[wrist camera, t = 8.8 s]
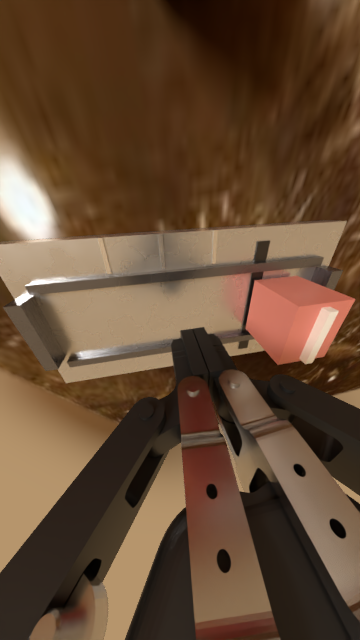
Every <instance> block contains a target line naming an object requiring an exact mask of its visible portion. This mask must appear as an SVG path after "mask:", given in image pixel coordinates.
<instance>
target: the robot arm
mask: <svg viewBox="0 0 360 640" xmlns="http://www.w3.org/2000/svg"><path fill="white" fill-rule="evenodd" d="M180 337H181V339H174V340H173V342H172V344H171V351H172V359H173V366H174V372H175V378H176V387H175V389H174V390H173V391H172V393H170V394H169V395H168V396H166V397H164V398H162V399H160V400H158V399H156V398H153V397H147V398H143V399H141V400H139V401H138V402H137V403H136V404H135V405H134V406H133V407H132V408H131V410H130V411H129V412H128V413H127V415H126V416H125V417H124V418H123V420H122V421H121V422H120V423H119V425H118V426H117V427H116V429H115V430H114V431H113V432H112V434H111V435H110V436H109V437H108V439H107V440H106V441H105V443H104V444H103V445H102V446H101V447H100V449H99V450H98V451H97V452H96V454H95V455H94V456H93V458H92V459H91V460H90V461H89V462H88V464H87V465H86V466H85V467H84V469H83V470H82V471H81V472H80V474H79V475H78V476H77V477H76V479H75V480H74V481H73V482H72V484H71V485H70V486H69V487H68V489H67V490H66V491H65V493H64V494H63V495H62V496H61V498H60V499H59V500H58V501H57V503H56V504H55V505H54V506H53V508H52V509H51V510H50V511H49V513H48V514H47V515H46V516H45V518H44V519H43V520H42V521H41V523H40V524H39V525H38V526H37V528H36V529H35V530H34V531H33V533H32V534H31V535H30V537H29V538H28V539H27V540H26V542H25V543H24V544H23V545H22V546H21V548H20V549H19V551H18V552H17V553H16V554H15V555H14V557H13V558H12V559H11V560H10V562H9V563H8V564H7V565H6V567H5V568H4V569H3V570H2V572H1V573H0V640H103V639H104V636H105V632H106V626H107V620H108V619H107V618H108V597H107V592H106V589H105V587H104V585H103V583H102V582H103V580H104V578H105V576H106V574H107V572H108V570H109V568H110V566H111V564H112V562H113V560H114V558H115V556H116V554H117V553H118V551H119V549H120V547H121V545H122V543H123V541H124V539H125V537H126V535H127V533H128V531H129V529H130V527H131V525H132V523H133V521H134V519H135V517H136V515H137V513H138V511H139V509H140V507H141V505H142V503H143V501H144V499H145V497H146V496H147V494H148V492H149V490H150V488H151V486H152V484H153V482H154V480H155V478H156V476H157V474H158V472H159V470H160V468H161V466H162V464H163V462H164V460H165V458H166V456H167V454H168V452H169V450H170V449H172V448H173V447H174V446H176V445H177V444H179V443H181V446H182V460H183V473H184V486H185V500H186V507H185V508H184V509H183V510H182V511H181V512H180V513H179V514H178V515H177V516H176V518H175V519H174V520H173V521H172V523H171V524H170V526H169V527H168V529H167V531H166V533H165V535H164V537H163V539H162V541H161V543H160V546H159V548H158V551H157V553H156V556H155V559H154V562H153V564H152V567H151V570H150V572H149V575H148V578H147V581H146V583H145V586H144V589H143V592H142V594H141V597H140V600H139V602H138V605H137V608H136V611H135V613H134V616H133V619H132V621H131V624H130V627H129V630H128V632H127V635H126V638H125V640H360V504H359V503H358V502H356V501H355V500H354V499H352V498H351V497H349V496H348V495H346V494H345V493H344V492H343V490H342V489H341V488H340V486H339V485H338V484H337V483H336V481H335V480H334V479H333V477H334V478H335V479H336V480H338V481H339V482H341V483H342V484H344V485H345V486H347V487H348V488H350V489H351V490H352V491H354V492H355V493H357V494H358V495H360V409H359V408H356V407H354V406H352V405H350V404H348V403H346V402H344V401H342V400H339V399H337V398H335V397H333V396H331V395H329V394H327V393H325V392H322V391H320V390H318V389H316V388H314V387H312V386H310V385H308V384H305V383H303V382H301V381H299V380H297V379H295V378H293V377H290V376H287V375H282V374H279V375H275V376H273V377H272V378H271V379H270V381H261V380H253V379H250V378H248V377H247V376H246V375H245V374H244V373H242V372H241V371H238V370H237V368H236V366H235V365H234V363H233V361H232V359H231V358H230V356H229V354H228V352H227V351H226V349H225V347H224V345H223V344H222V342H221V340H220V338H218V337H217V336H216V335H214V334H207V332H206V330H205V328H204V327H200V328H193V329H186V330H180ZM212 402H214V403H215V406H216V415H215V411H214V407H213V403H212ZM216 416H217V419H218V421H219V423H220V426H221V428H222V431H223V433H224V436H225V438H226V440H227V442H228V445H229V448H230V450H231V452H232V455H233V457H234V460H235V464H236V470H237V474H238V477H239V480H240V483H241V485H242V488H243V490H244V492H239V489H238V485H237V481H236V477H235V474H234V470H233V467H232V463H231V459H230V455H229V452H228V448H227V444H226V441H225V439H224V437H223V435H222V434H221V433H220V431H219V427H218V423H217V419H216Z"/></svg>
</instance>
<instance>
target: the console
mask: <svg viewBox="0 0 360 640" xmlns="http://www.w3.org/2000/svg"><path fill="white" fill-rule="evenodd" d="M346 222H347V221H331V220H322V221H307V222H292V223H277V224H261V225H246V226H231V227H216V228H201V229H186V230H171V231H156V232H140V233H125V234H110V235H95V236H80V237H65V238H50V239H34V240H19V241H4V242H0V276H1V278H2V279H3V281H4V283H5V284H6V286H7V288H8V289H9V291H10V292H11V294H12V296H13V297H14V299H15V300H13V301H12V302H10V303H9V304H7V305H6V306H4V307H3V308H4V310H5V311H6V313H7V314H8V316H9V317H10V319H11V320H12V321H13V323H14V324H15V326H16V327H17V329H18V330H19V332H20V333H21V335H22V336H23V338H24V339H25V341H26V342H27V344H28V345H29V347H30V348H31V350H32V351H33V353H34V354H35V356H36V357H37V359H38V360H39V362H40V363H41V365H42V366H43V368H44V369H45V371H49V370H55V369H58V371H59V372H60V374H61V376H62V377H63V379H64V381H65V382H66V383H69V382H76V381H82V380H88V379H94V378H100V377H106V376H112V375H118V374H125V373H131V372H137V371H143V370H149V369H155V368H161V367H167V366H173V359H172V351H171V344H172V342H173V340H174V339H181V337H180V330H186V329H193V328H200V327H204V328H205V330H206V332H207V334H214V335H216V336H217V337H218V338H220V340H221V342H222V344H223V345H224V347H225V349H226V351H227V352H228V354H229V356H235V355H241V354H247V353H253V352H259V351H265V350H264V349H263V348H262V346H261V345H260V344H259V343H258V342H257V341H256V340H255V339H254V337H253V336H252V335H251V334H250V333H249V332H248V331H247V329H246V323H247V318H248V313H249V307H250V302H251V297H252V292H253V287H254V281H255V280H262V279H271V278H280V277H290V276H299V277H301V278H304V279H306V280H309V281H311V282H314V283H316V284H319V285H321V286H324V287H326V288H329V289H331V290H334V289H335V287H336V284H337V282H338V280H339V278H340V276H341V274H342V271H343V270H339V269H336V268H332V267H329V263H330V261H331V259H332V256H333V254H334V251H335V249H336V246H337V244H338V242H339V239H340V237H341V234H342V232H343V229H344V227H345V224H346Z"/></svg>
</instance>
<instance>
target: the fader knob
mask: <svg viewBox="0 0 360 640" xmlns="http://www.w3.org/2000/svg"><path fill="white" fill-rule="evenodd" d="M354 301H355V299H354V298H351V297H349V296H346V295H344V294H341V293H339V292H336V291H334V290H331V289H329V288H326V287H324V286H321V285H319V284H316V283H314V282H311V281H309V280H306V279H304V278H301V277H299V276H290V277H280V278H271V279H262V280H255V281H254V287H253V292H252V297H251V302H250V307H249V313H248V318H247V323H246V329H247V331H248V332H249V333H250V334H251V335H252V336H253V337H254V339H255V340H256V341H257V342H258V343H259V344H260V345H261V346H262V348H263V349H264V350H265V351H266V352H267V353H268V354H269V356H270V357H271V358H272V359H273V360H274V361H275V362H276V363H277V365H280V364H285V363H291V362H297V361H302V362H303V363H304V364H309V363H313V361H314V359H315V358H319V357H324V356H325V354H326V352H327V350H328V348H329V347H330V345H331V343H332V341H333V339H334V337H335V336H336V334H337V332H338V330H339V328H340V326H341V325H342V323H343V321H344V319H345V317H346V316H347V314H348V312H349V310H350V308H351V306H352V305H353V303H354Z"/></svg>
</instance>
